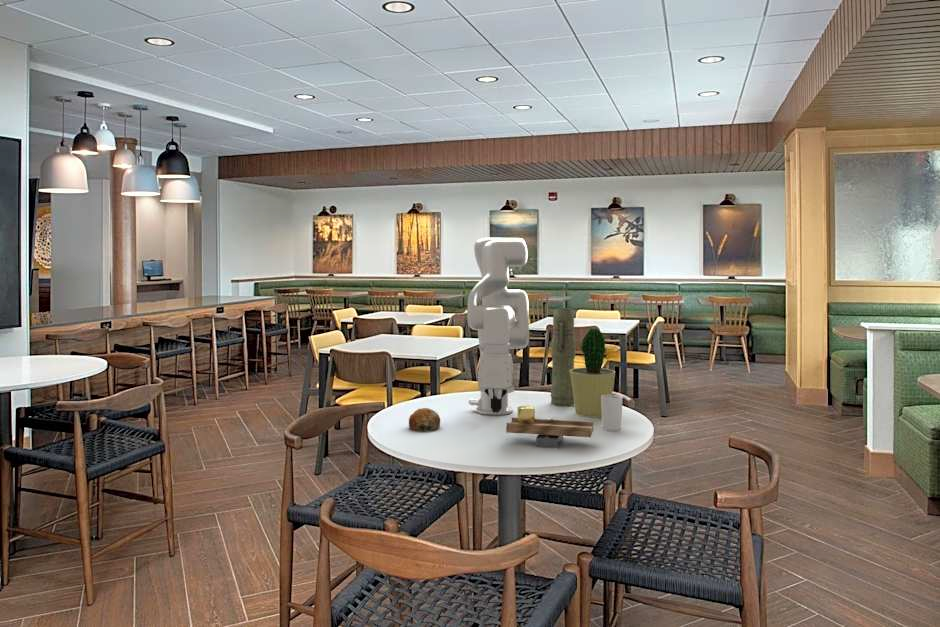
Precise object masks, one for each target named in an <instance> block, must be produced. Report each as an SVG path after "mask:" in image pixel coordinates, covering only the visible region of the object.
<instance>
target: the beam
mask: <svg viewBox="0 0 940 627" xmlns="http://www.w3.org/2000/svg"><path fill="white" fill-rule="evenodd" d="M594 429H595V428H594V421H589V420H588V421H587V420H572V419H571V420H569V419H567V420H566V419H554V418H535V424H521V423H518V417H514V416H512V417H511V421H510V422H506V428H505V431H506V433H508V434H509V433H510V434H523V435H524V434H525V435H556V436H563V437H575V438H592V434H593V432H594Z"/></svg>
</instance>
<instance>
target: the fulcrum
mask: <svg viewBox="0 0 940 627" xmlns="http://www.w3.org/2000/svg"><path fill="white" fill-rule="evenodd" d="M563 439H564V436H556V435H539V434H537V436H536V440H535V443H536V444H535V447H537V448H551V449H558V448H559V446H560V445H561V443H562V441H563Z"/></svg>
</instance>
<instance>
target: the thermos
mask: <svg viewBox="0 0 940 627" xmlns="http://www.w3.org/2000/svg"><path fill="white" fill-rule="evenodd" d="M552 330H553V334H552V338H551V341H550V342H551V343H550V344H551V346H550V347H551V348H550V352H551V353H550V355H551V358H552V361H551V364H552V366H551V367H552V369H551V370H552V375H551V376H552V381H551V383H552V384H551V387H550V397H551V398H550V400H551V401H550V404H552V405H554V406H559V405H569V406H573V405H572V404H574V397H573V390H572V382H571V375H570V370H571V369H575V357H576V344H577V343H576V339H575V333H574V330H575V316H574V311H573V309H571V308H570V307H569V308H568V307H559V308H558V307H557V308H556V309H555V310H554V313H553V317H552Z"/></svg>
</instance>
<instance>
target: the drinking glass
mask: <svg viewBox="0 0 940 627" xmlns="http://www.w3.org/2000/svg"><path fill="white" fill-rule="evenodd" d="M623 398H624V397H623V396H622V395H618V394H612V395H602V396H601V409H602V417H601V429H603V430H605V431H620V430H621V429H622V415H623Z"/></svg>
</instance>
